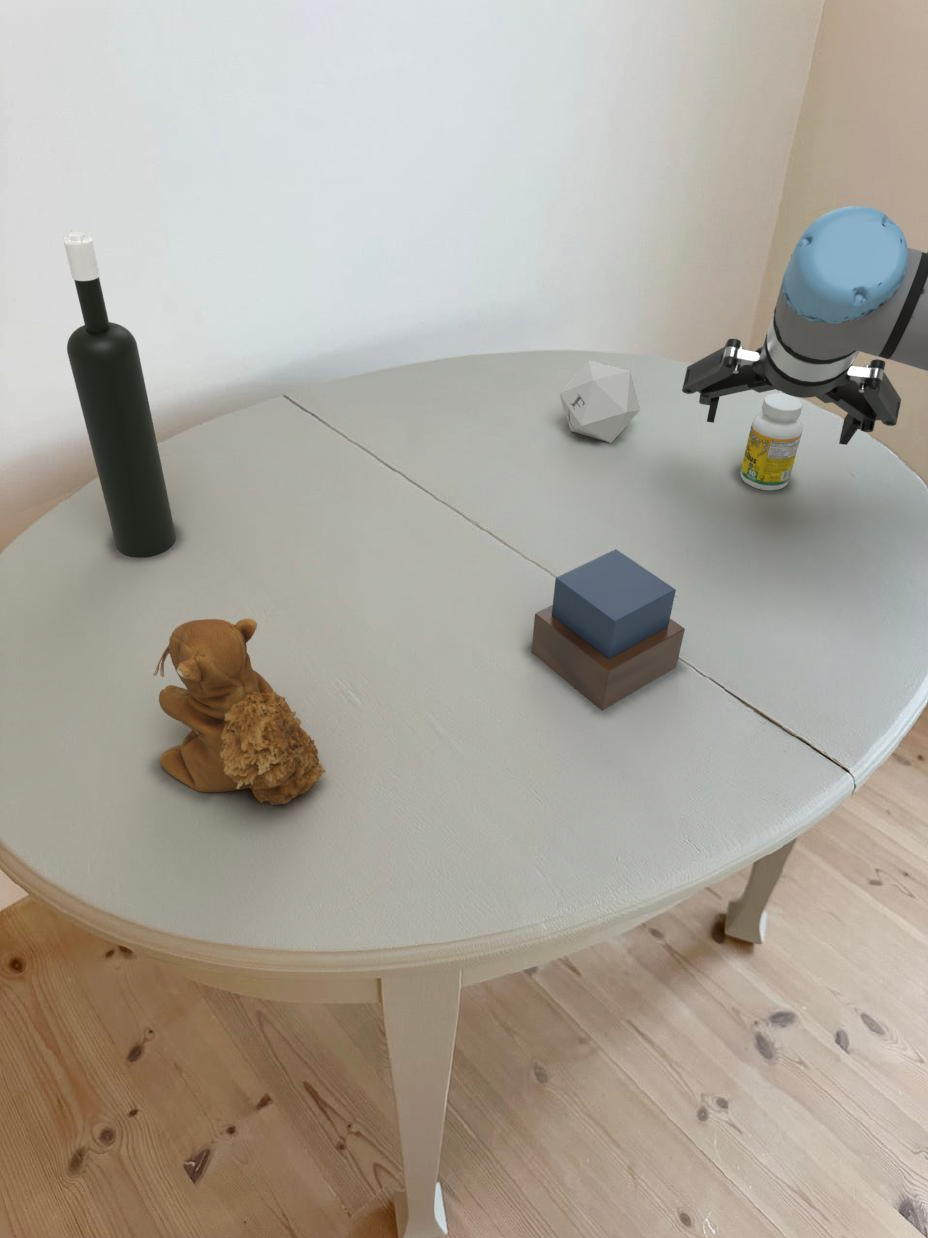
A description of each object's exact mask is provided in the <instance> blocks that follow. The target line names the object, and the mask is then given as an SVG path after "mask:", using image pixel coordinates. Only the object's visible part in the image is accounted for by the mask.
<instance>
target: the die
mask: <svg viewBox="0 0 928 1238" xmlns="http://www.w3.org/2000/svg"><path fill="white" fill-rule="evenodd" d="M558 395H559V398H560V401H561V404H562V407H563V411H564V414H565V417H566V420H567V423H568V426H569V431H570V432H572V433H576V434H578V435H581V436H585V437H589V438H592V439H596V440H599V441H603V442H606V443H610V444H612V443H613V442H614V441H615V440H616V438H617V437H619V435H620V434H621V433H622V432H623V431H624V430H625V428H626V427H627V426H628V425H629V424H630V423H631V422H632V421H633V419H634V418H635V417H636V416H637V415H638V414H639V413H640V411H641V408H640V407H641V406H640V403H639V399H638V396H637V391H636V387H635V384H634V380H633V377H632V372H631V370H628V369H624V368H620V367H617V366H612V365H608V364H605V363H601V362H598V361H594V360H589V359H588V360H587V361H586V362H585V364H584V365H582V367H581V368H580V369H579V370H578V372H577V373H576V374H575V375H574V376H573V377H572V378H571V379H570V380H569V382H568V383H566V385H565V386H564V387H563V388H562V389H561V390H560V392H559V393H558Z"/></svg>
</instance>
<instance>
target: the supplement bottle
mask: <svg viewBox="0 0 928 1238" xmlns="http://www.w3.org/2000/svg"><path fill="white" fill-rule="evenodd" d="M802 409H803V402H802V400H800V399H799V397H794V396H790V395H788V394H785V393H779V392H778V393H770V394H767V395H766V396H765V397H764V399H763V402H762V406H761V411H760V412H759V413H757V414H755V416H754V417H753V419H752V421H751V425H750V429H749V434H748V438H747V443H746V447H745V451H744V456H743V459H742V464H741V467H740V478H741V479H742V481H743V482H744V483H745V484H746V485H748V486H750V487H752V488H755V489H758V490H760V491H761V490H762V491H770V492H771V491H777V490H781V489H783V488H785V487H786V486H787V485H788V484H789V481H790V478H791V474H792V471H793V467H794V463H795V459H796V456H797V453H798V449H799V445H800V442H801V438H802V435H803V430H804V426H803V423H802V421H801V420H800V419H799V418H800V417H801V414H802Z"/></svg>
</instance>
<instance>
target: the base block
mask: <svg viewBox="0 0 928 1238" xmlns="http://www.w3.org/2000/svg"><path fill="white" fill-rule="evenodd" d="M552 607H553V604H552V605H550V606H547V607H545V608H543V609H542V610H539V611H537V612H535V613H534V620H533V630H532V640H531V653H532V654H533V655H534V656H535V657H536V658H537V659H539V660H540V661H541V662H542V663H544V664H545V665H546V666H547V667H549V669H551V670H552V671H553V672H554V673H556V675H558V676H559V677H560V678H562V679H563V681H565V682H567V683H568V684H569V685H570V686H571V687H572V688H573V689H575V690H576V691H577V692H579V694H581V695H582V696H583V697H584V698H586V699H587V700H588V701H589V702H591V703H592V704H593V705H594V706H596V707H597V708H598V709H599V710H600V711H604V710H606V709H608V708H609V707H611V706H612V705H614V704H616V703H618V702H620V701H622V700H623V699H624V698H625V699H626V698H627V697H628V696H630V695H632V694H633V693H635V692H637V691H638V690H641V689H642V688H644V687H645V686H648V685H649V684H650V683H652V682H654V681H656V680H657V679H660V678H661V677H662V676H664V675H666V674H668V673H669V672H671V671H673V670H675V669H676V668H677V665H678V662H679V657H680V652H681V648H682V644H683V639H684V634H685V631H686V629H685V628H684V627H683V626H682V625H681V624H679V623H678V622H676V621H675V620H673V619H672V618H670V620H669V625H668V627H666V628H665V629H663V630H661V631H659V632H657V633H656V634H654V635H652V636H650V637H648V638H646V639H645V640H643V641H641V642H639V643H637V644H636V645H634V646H632V647H630V648H628V649H626V650H625V651H623V652H621V653H619V654H617V655H616V656H614V657H612V658H610V659H608V658H607V657H605V656H604V655H603V654H602V653H600V652H599V651H598V650H596V649H595V648H594V647H593V646H591V645H590V644H589V643H587V642H586V641H585V640H583V639H582V638H581V637H580V636H578V635H577V634H576V633H574V632H573V631H572V630H571V629H569V628H568V627H567V626H565V625H564V624H563V623H562V622H560V621H559V620H558V619H556V618H555V617H554V616H553V615H552Z"/></svg>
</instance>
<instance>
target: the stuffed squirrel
mask: <svg viewBox="0 0 928 1238" xmlns="http://www.w3.org/2000/svg"><path fill="white" fill-rule="evenodd" d="M257 628H258V622H257V621H256V619H254V618H243V619H240V620H238V621H237V622H236V623H235V624H233V623H231V622H230V621H227V620H225V619H219V618H209V619H208V618H206V619H193V620H190V621H186V622H184V623H181V624H180V625H179V626H177V627H175V629H174V630H173V631H172V632H171V635H170V637H169V639H168V640H169V642H168V645H167V646H166V648H165V649H164V651H162V654H161V656H160V658H159V660H158V663H157V665H156V667H155V670H154V672H153V676H154V677H156V676H157V675H158V673H159V672H160V673H159V674H160V677H162V678H164V677H165V661H166V659H167V657H168V655H169V657H170V660H171V663H172V665H173V667H174V670H175V672H176V673H177V676H178V677H179V679H180V681H181V682H182V683H183V685H184V686H185V688H184V687H180V686H177V685H172V684H169V685H167V686H165V688H164V689H161V691H159V695H158V703H159V706H160V708H161V710H162V711H163V713H165V714H166V715H167V716H169V717H170V718H172V719H174V720H176V721H177V722H180V723H182V724H183V725H184V726H187V727H188V728H189V729H191V731H190V732H189V733H188V734H187V735H186V736H185V737H184V739H183V741H182V743H181V745H176V746H173V747H169V748H168V749H166V750H164V751H163V753H162V754H161V756H160V758H159V764H160V766H161V767H162V768H163V770H164V771H166V773H167V774H169V775H170V776H171V777H173V778H174V779H176V780H178V781H179V782H181V783H183V784H184V785H186V786H187V787H189V788H191V789H192V790H195V791H197V792H200V793H224V792H232V791H233V792H234V791H238V790H245V789H250V791H252V792H251V794H253V797H255V798H256V800H257V801H259V803H260V804H261V803H264V802H269V804H270V805H271V806H274V805H275V806H276V805H286V804H288V803H290V802H291V800H293V799H294V798H297V796H299V795H303V794H305V793H307V792H309V791H310V790H311V789H312V787H313V786H314V785H315V784H317V783H318V782H319V780H320V778H321V777H322V776H323V775H324V773H326V772H327V771H326V769H324V768H323V764H321V763H320V759H319V756H318V755H319V751H318V748H317V746H316V745H315V739H312V737H311V735H309V734H308V733H307V731H305V729H303V728H302V727H301V726H300V725H301V723H302V720H301V719H300V718H298V717H297V716H296V714H297V713H296V712H297V711H292V710H291V707H290V706H289V704H288V703H287V701H286V699H287V697H285V696H281V695H279V694H277V692H276V691H274V689H273V687H272V686H271V684H270V683H269V682H268V681H266V679H265V677H263V676H262V675H261V674H260V673H259V672H258V671H257V670H254V669H253V667H252V663H251V657H250V655H249V653H248V648H247V647H248V646H247V643H248V642H249V641H250V640H251V639H252V638H253V636H254V634H255V632H256V630H257ZM159 670H160V671H159ZM295 716H296V717H295Z"/></svg>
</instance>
